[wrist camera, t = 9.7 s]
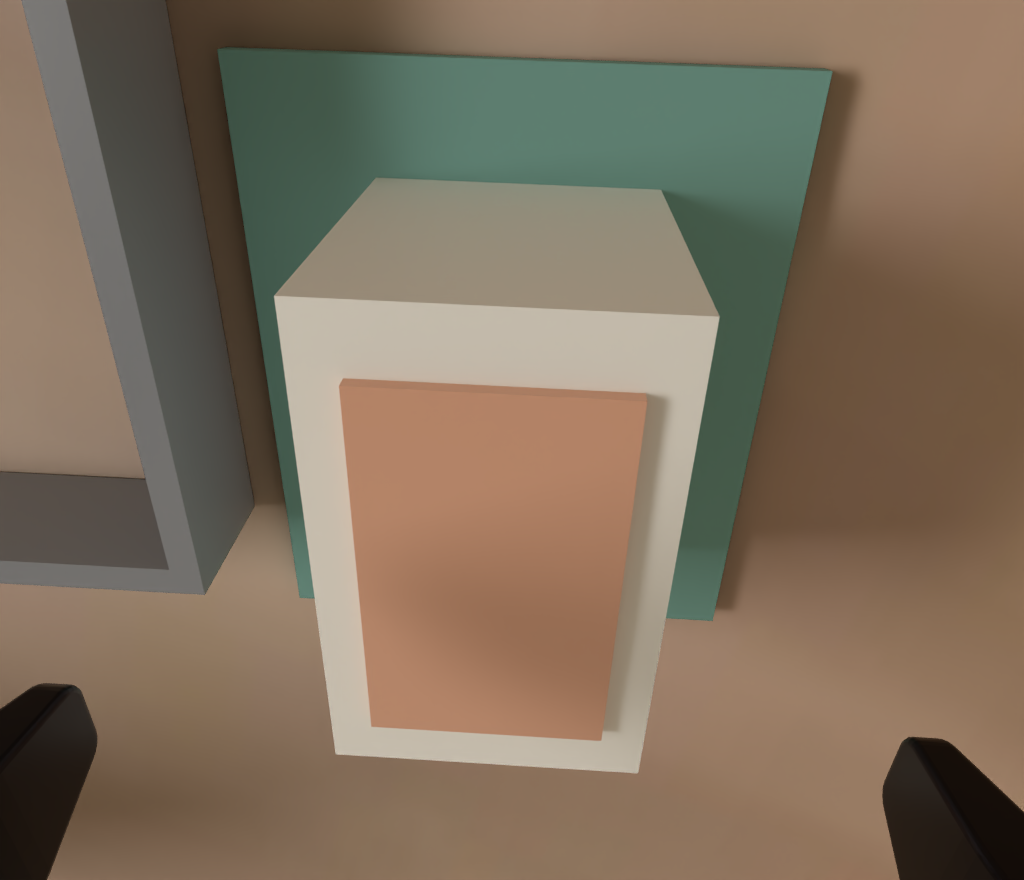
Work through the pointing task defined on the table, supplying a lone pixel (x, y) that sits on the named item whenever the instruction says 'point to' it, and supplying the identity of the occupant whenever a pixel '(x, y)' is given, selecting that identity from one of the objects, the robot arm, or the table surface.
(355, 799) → the table surface
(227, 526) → the bin
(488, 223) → the box
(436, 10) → the table surface
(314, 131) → the rubber mat
